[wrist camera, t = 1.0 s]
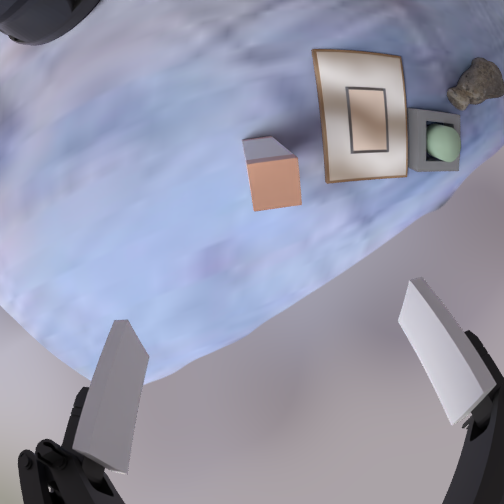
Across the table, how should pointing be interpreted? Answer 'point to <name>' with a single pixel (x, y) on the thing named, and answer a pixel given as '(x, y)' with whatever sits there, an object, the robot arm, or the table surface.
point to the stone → (477, 84)
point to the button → (442, 142)
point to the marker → (271, 174)
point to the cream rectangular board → (361, 114)
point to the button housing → (418, 140)
